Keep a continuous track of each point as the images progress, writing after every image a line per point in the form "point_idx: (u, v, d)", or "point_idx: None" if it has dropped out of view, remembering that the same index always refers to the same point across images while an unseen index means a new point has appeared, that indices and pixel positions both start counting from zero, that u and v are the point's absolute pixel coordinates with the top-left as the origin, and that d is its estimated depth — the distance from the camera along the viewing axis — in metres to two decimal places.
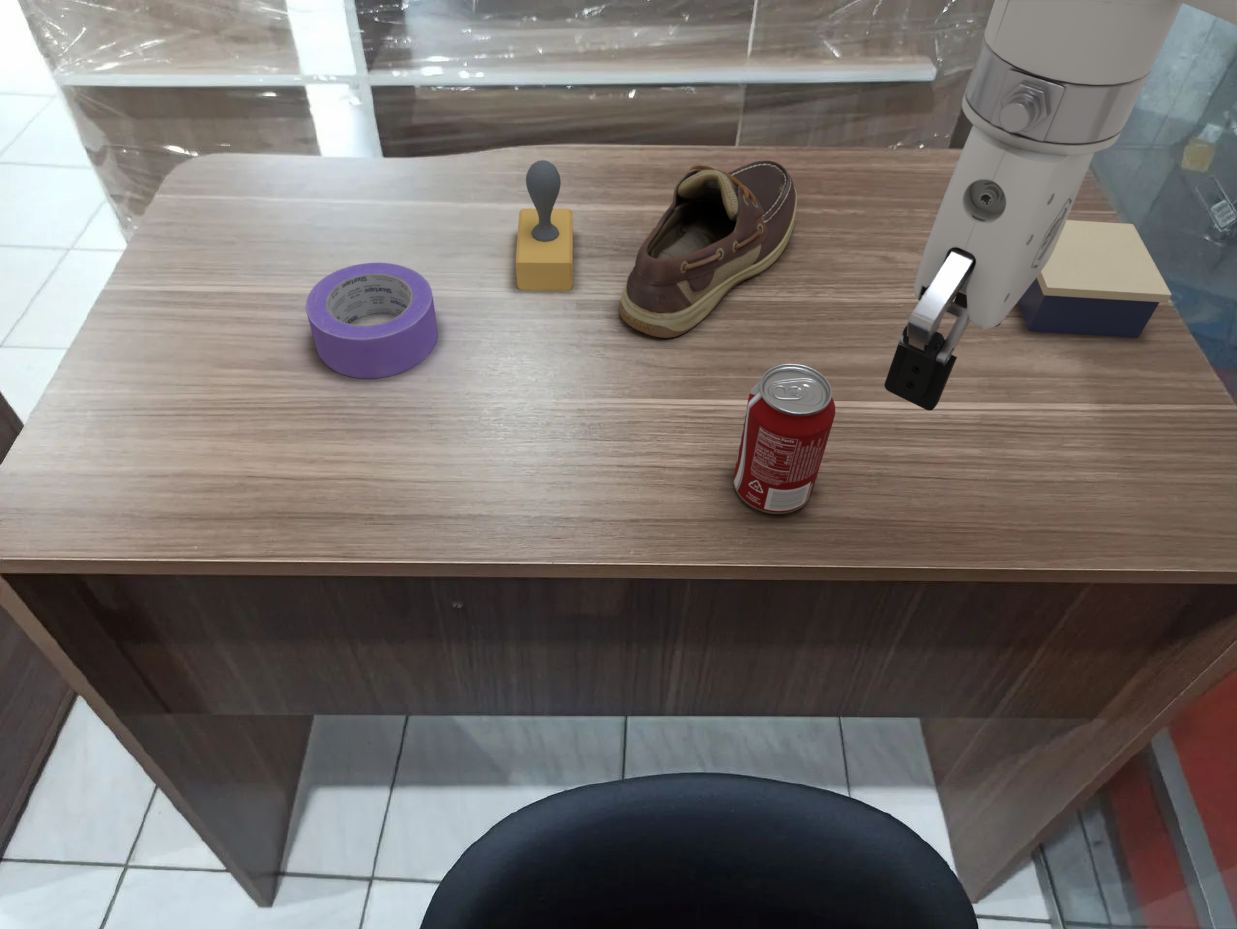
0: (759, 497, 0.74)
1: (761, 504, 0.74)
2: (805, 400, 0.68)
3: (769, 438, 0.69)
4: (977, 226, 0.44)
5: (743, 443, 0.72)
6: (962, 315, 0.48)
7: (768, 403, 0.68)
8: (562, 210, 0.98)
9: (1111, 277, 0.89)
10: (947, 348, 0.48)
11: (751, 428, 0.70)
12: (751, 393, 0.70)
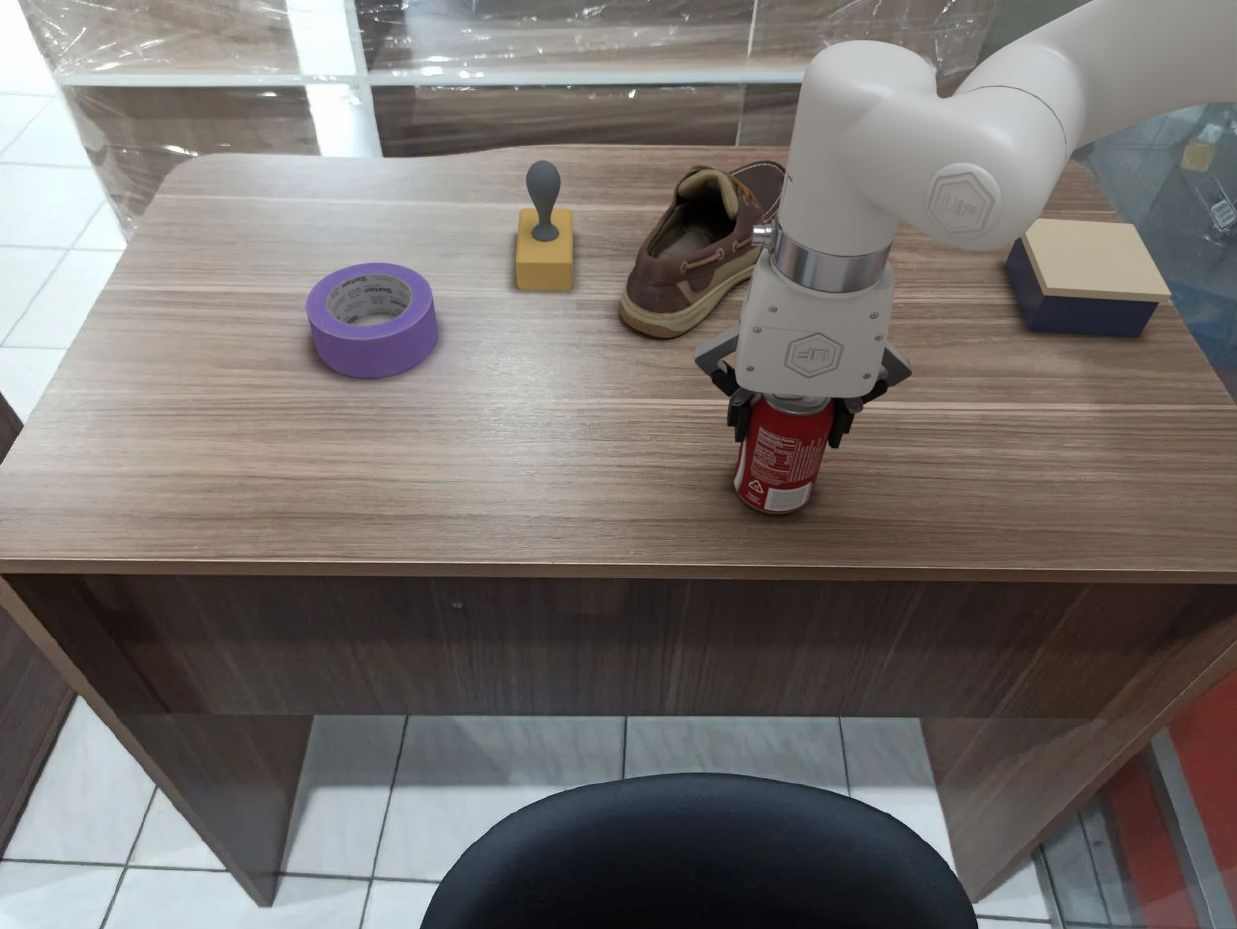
0: (759, 497, 0.74)
1: (761, 504, 0.74)
2: (805, 400, 0.68)
3: (769, 438, 0.69)
4: (744, 305, 0.63)
5: (743, 443, 0.72)
6: None
7: (768, 403, 0.68)
8: (562, 210, 0.98)
9: (1111, 277, 0.89)
10: (732, 393, 0.68)
11: (751, 428, 0.70)
12: None
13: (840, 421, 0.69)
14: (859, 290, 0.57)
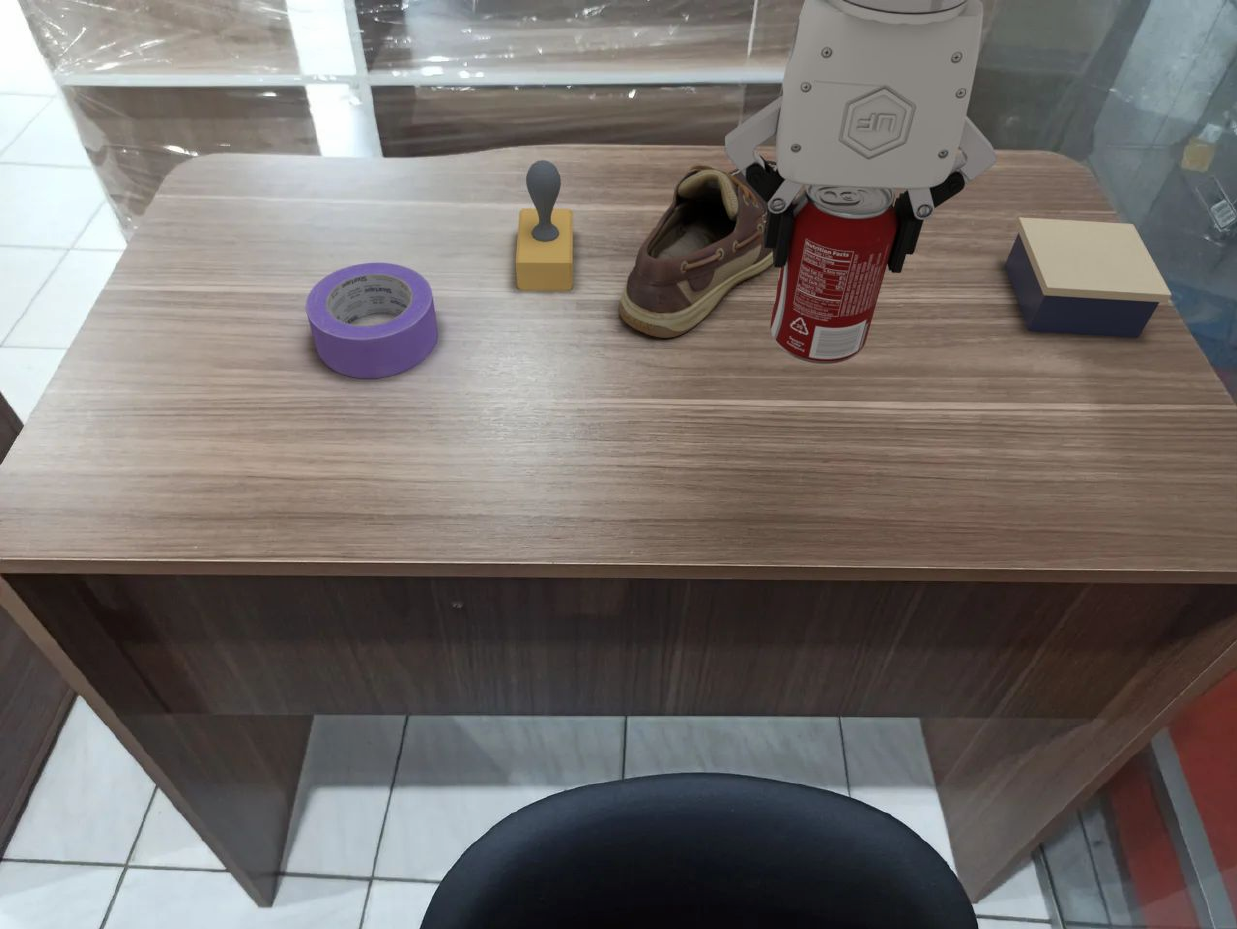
0: (803, 341, 0.61)
1: (805, 351, 0.61)
2: (861, 205, 0.56)
3: (817, 254, 0.56)
4: (788, 64, 0.50)
5: (783, 272, 0.60)
6: None
7: (816, 207, 0.55)
8: (562, 210, 0.98)
9: (1111, 277, 0.89)
10: (772, 195, 0.55)
11: (795, 246, 0.57)
12: (794, 203, 0.57)
13: (904, 231, 0.56)
14: (940, 11, 0.44)
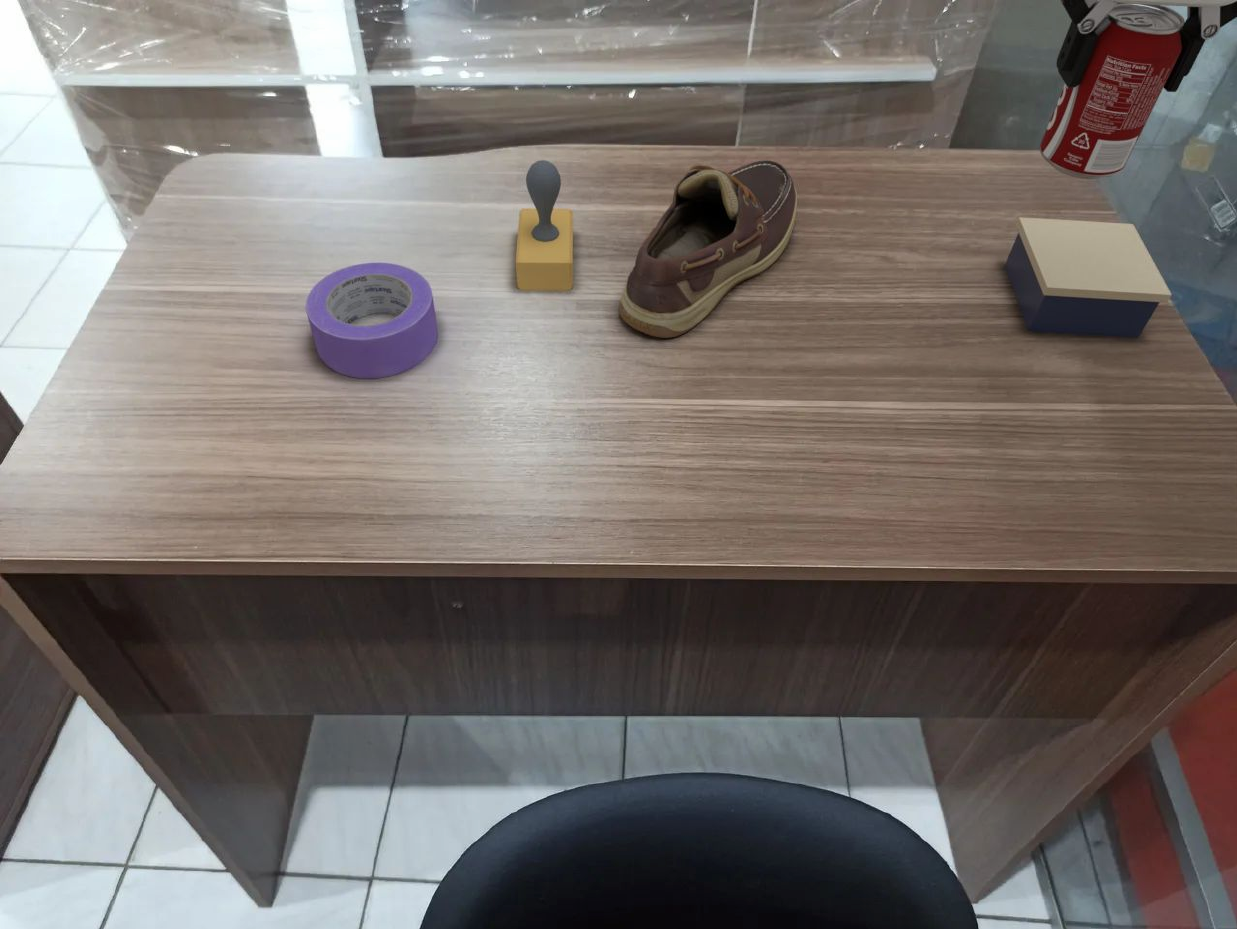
0: (1082, 155, 0.71)
1: (1082, 165, 0.72)
2: (1155, 26, 0.66)
3: (1117, 68, 0.66)
4: None
5: (1072, 93, 0.70)
6: None
7: (1120, 27, 0.65)
8: (562, 210, 0.98)
9: (1111, 277, 0.89)
10: (1084, 17, 0.65)
11: (1092, 64, 0.68)
12: None
13: (1190, 50, 0.66)
14: None
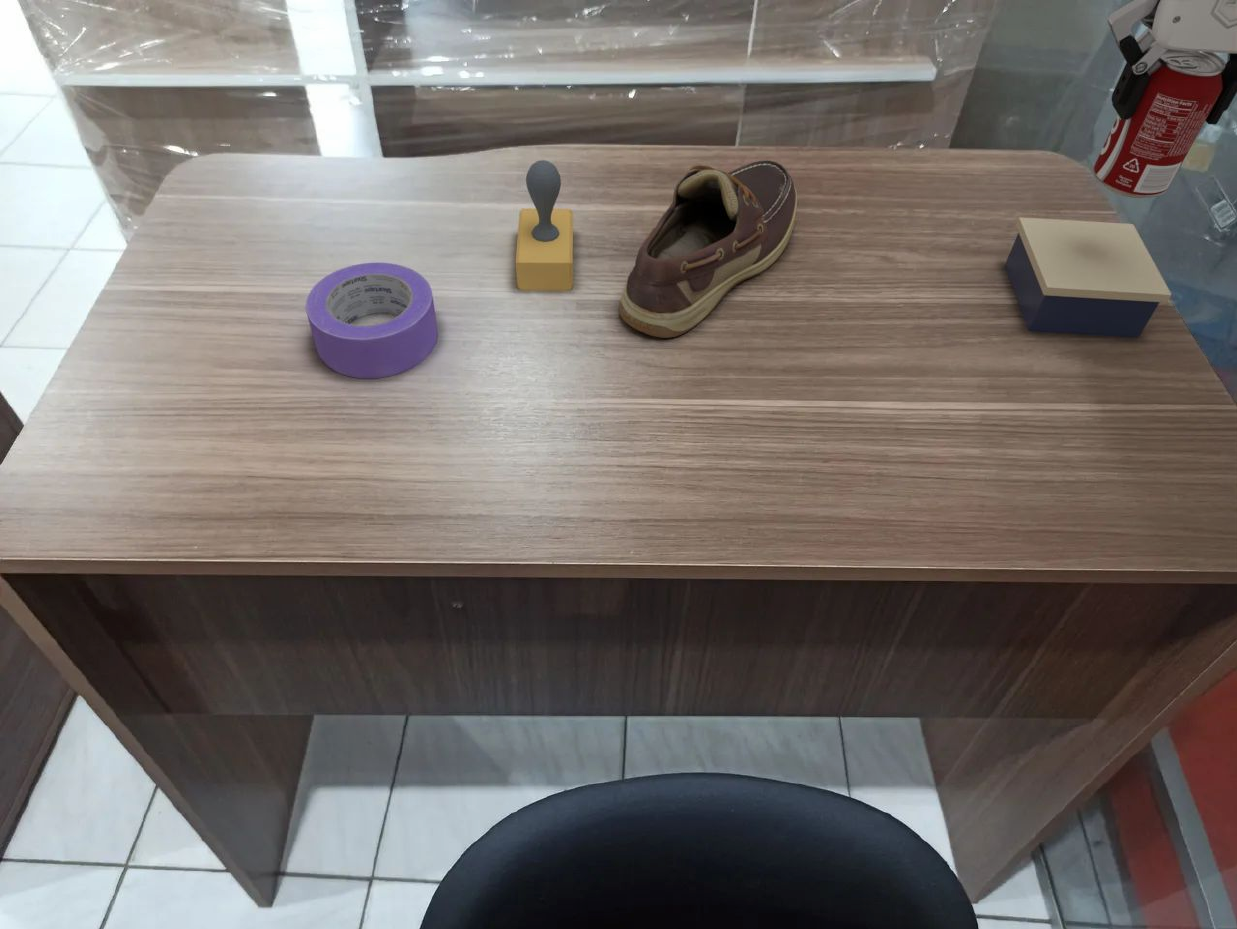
0: (1132, 178, 0.82)
1: (1131, 186, 0.82)
2: (1200, 68, 0.76)
3: (1166, 104, 0.77)
4: None
5: (1124, 123, 0.80)
6: None
7: (1170, 68, 0.76)
8: (562, 210, 0.98)
9: (1111, 277, 0.89)
10: (1138, 60, 0.76)
11: (1144, 100, 0.78)
12: None
13: (1229, 89, 0.77)
14: None
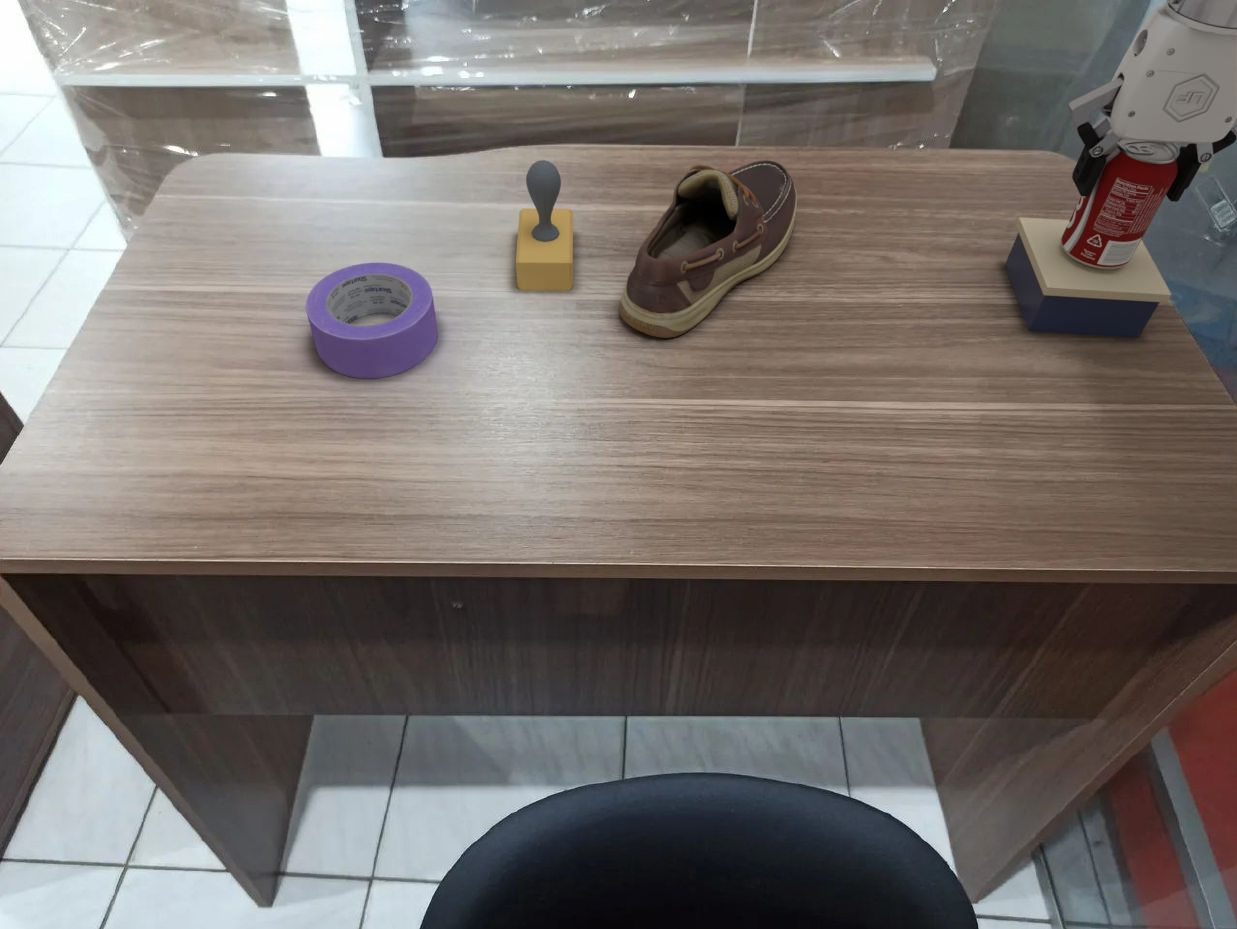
0: (1095, 251, 0.88)
1: (1095, 259, 0.88)
2: (1156, 155, 0.82)
3: (1124, 188, 0.83)
4: (1131, 58, 0.77)
5: (1088, 202, 0.86)
6: None
7: (1128, 156, 0.82)
8: (562, 210, 0.98)
9: (1111, 277, 0.89)
10: (1095, 144, 0.81)
11: (1105, 183, 0.84)
12: None
13: (1189, 171, 0.82)
14: None
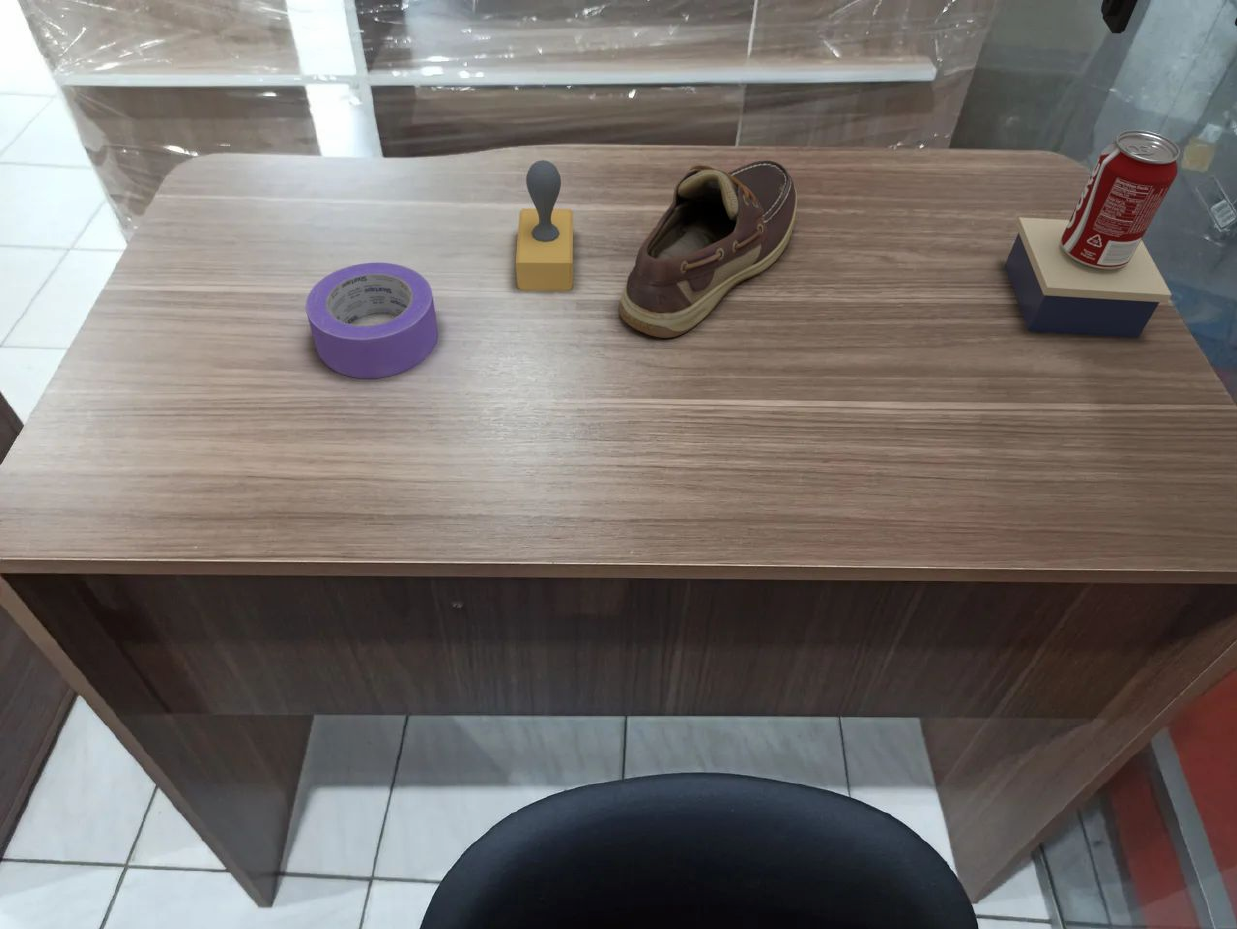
0: (1095, 251, 0.88)
1: (1095, 259, 0.88)
2: (1156, 155, 0.82)
3: (1124, 188, 0.83)
4: None
5: (1088, 202, 0.86)
6: None
7: (1128, 156, 0.82)
8: (562, 210, 0.98)
9: (1111, 277, 0.89)
10: None
11: (1105, 183, 0.84)
12: (1103, 154, 0.84)
13: None
14: None
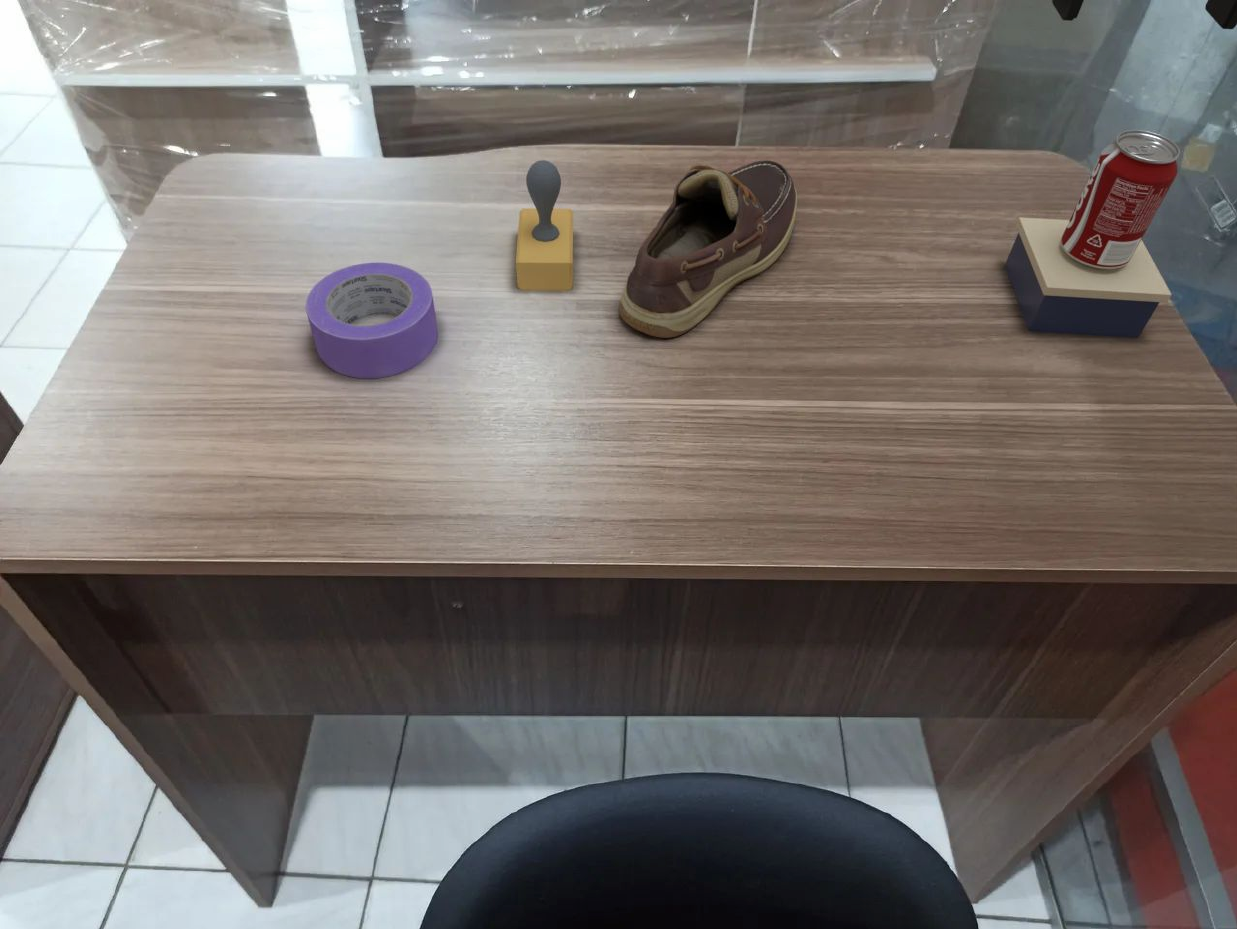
0: (1095, 251, 0.88)
1: (1095, 259, 0.88)
2: (1156, 155, 0.82)
3: (1124, 188, 0.83)
4: None
5: (1088, 202, 0.86)
6: None
7: (1128, 156, 0.82)
8: (562, 210, 0.98)
9: (1111, 277, 0.89)
10: None
11: (1105, 183, 0.84)
12: (1103, 154, 0.84)
13: None
14: None
